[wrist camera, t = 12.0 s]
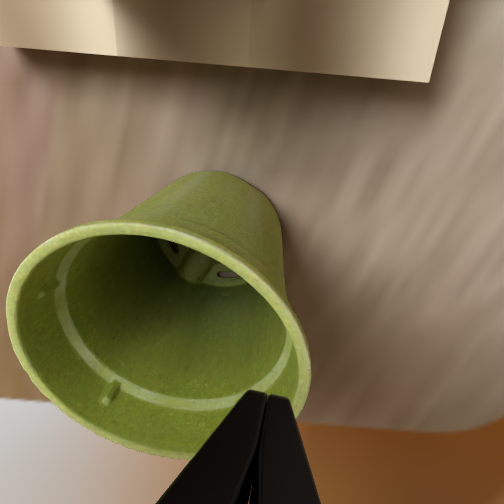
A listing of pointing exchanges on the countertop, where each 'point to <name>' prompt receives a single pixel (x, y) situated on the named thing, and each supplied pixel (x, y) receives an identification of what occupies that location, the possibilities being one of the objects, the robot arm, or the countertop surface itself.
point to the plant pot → (162, 316)
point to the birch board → (240, 32)
